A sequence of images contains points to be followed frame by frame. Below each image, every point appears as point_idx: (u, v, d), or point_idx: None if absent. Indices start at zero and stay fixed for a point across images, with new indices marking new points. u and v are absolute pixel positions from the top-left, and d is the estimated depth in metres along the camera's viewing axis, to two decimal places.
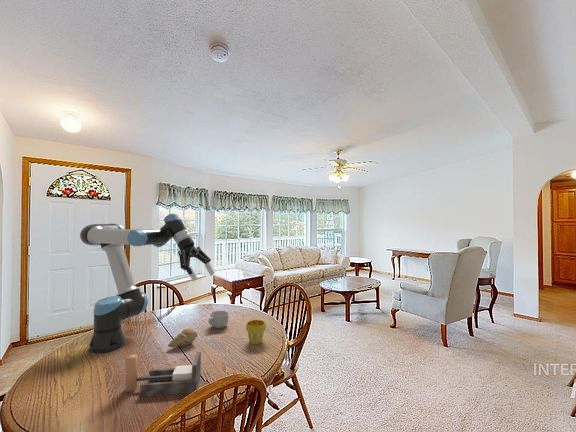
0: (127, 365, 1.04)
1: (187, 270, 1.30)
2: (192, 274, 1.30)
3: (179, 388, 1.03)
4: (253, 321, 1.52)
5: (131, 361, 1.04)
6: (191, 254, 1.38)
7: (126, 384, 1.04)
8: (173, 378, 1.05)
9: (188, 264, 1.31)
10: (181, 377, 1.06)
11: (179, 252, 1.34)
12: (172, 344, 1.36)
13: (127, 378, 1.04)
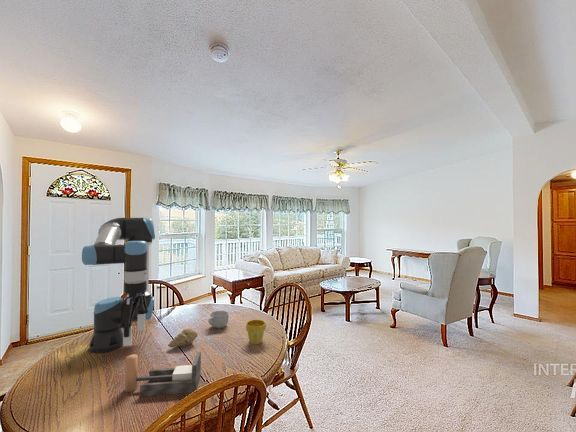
0: (127, 365, 1.04)
1: (125, 331, 0.98)
2: (128, 337, 0.99)
3: (179, 388, 1.03)
4: (253, 321, 1.52)
5: (131, 361, 1.04)
6: None
7: (126, 384, 1.04)
8: (173, 378, 1.05)
9: (130, 323, 1.00)
10: (181, 377, 1.06)
11: (127, 302, 1.00)
12: (172, 344, 1.36)
13: (127, 378, 1.04)
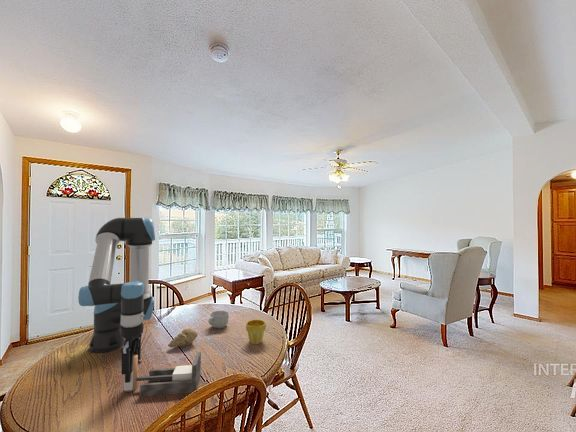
0: None
1: (126, 377, 1.02)
2: (129, 382, 1.03)
3: (179, 388, 1.03)
4: (253, 321, 1.52)
5: None
6: None
7: None
8: (173, 378, 1.05)
9: (131, 369, 1.03)
10: (181, 377, 1.05)
11: (123, 352, 0.99)
12: (172, 344, 1.36)
13: None
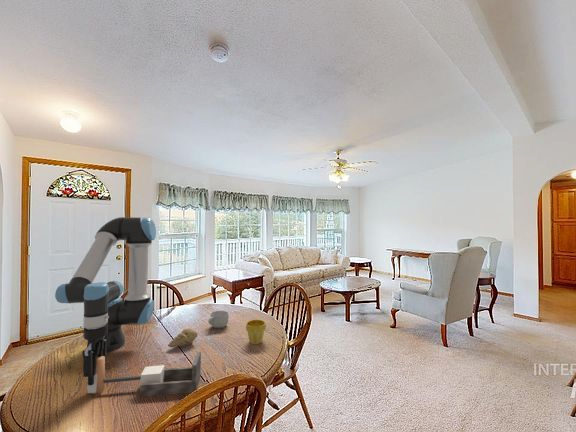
0: None
1: (89, 379, 1.00)
2: (92, 385, 1.01)
3: (179, 388, 1.03)
4: (253, 321, 1.52)
5: (97, 363, 1.03)
6: None
7: None
8: (141, 379, 1.04)
9: (94, 371, 1.01)
10: (150, 378, 1.05)
11: (85, 354, 0.98)
12: (172, 344, 1.36)
13: None
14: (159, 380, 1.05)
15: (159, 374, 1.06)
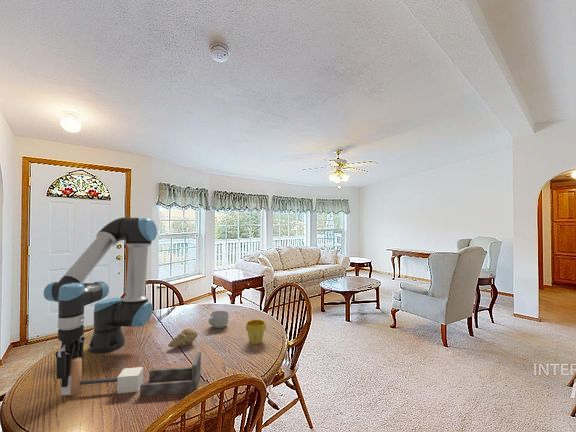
0: None
1: (63, 381, 0.99)
2: (66, 387, 1.00)
3: (179, 388, 1.03)
4: (253, 321, 1.52)
5: (74, 365, 1.01)
6: None
7: None
8: (118, 381, 1.03)
9: (68, 373, 1.00)
10: (127, 380, 1.03)
11: (58, 355, 0.96)
12: (172, 344, 1.36)
13: None
14: (136, 382, 1.04)
15: (136, 376, 1.04)
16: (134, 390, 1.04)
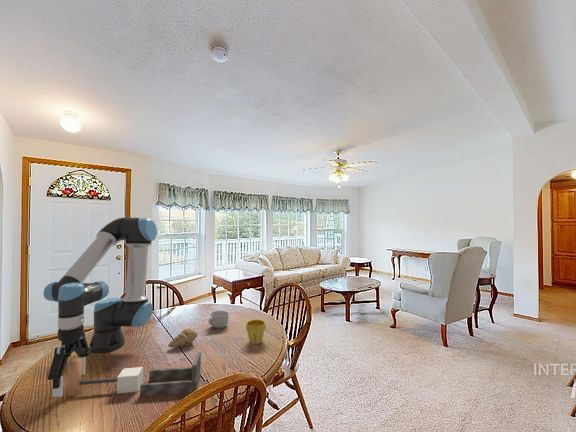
0: (69, 369, 1.01)
1: (54, 382, 0.94)
2: (58, 388, 0.96)
3: (179, 388, 1.03)
4: (253, 321, 1.52)
5: (73, 365, 1.01)
6: None
7: (68, 388, 1.01)
8: (118, 381, 1.03)
9: (61, 374, 0.96)
10: (127, 380, 1.03)
11: (57, 351, 0.96)
12: (172, 344, 1.36)
13: (69, 382, 1.01)
14: (136, 382, 1.04)
15: (136, 376, 1.04)
16: (134, 390, 1.04)
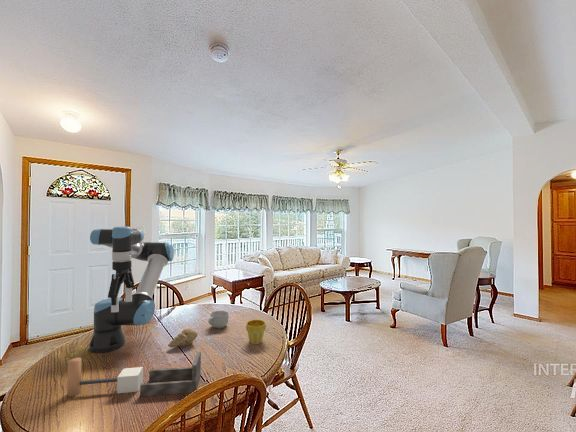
0: (69, 369, 1.01)
1: (112, 300, 1.20)
2: (115, 306, 1.21)
3: (179, 388, 1.03)
4: (253, 321, 1.52)
5: (73, 365, 1.01)
6: None
7: (68, 388, 1.01)
8: (118, 381, 1.03)
9: (117, 294, 1.21)
10: (127, 380, 1.03)
11: (113, 276, 1.21)
12: (172, 344, 1.36)
13: (69, 382, 1.01)
14: (136, 382, 1.04)
15: (136, 376, 1.04)
16: (134, 390, 1.04)
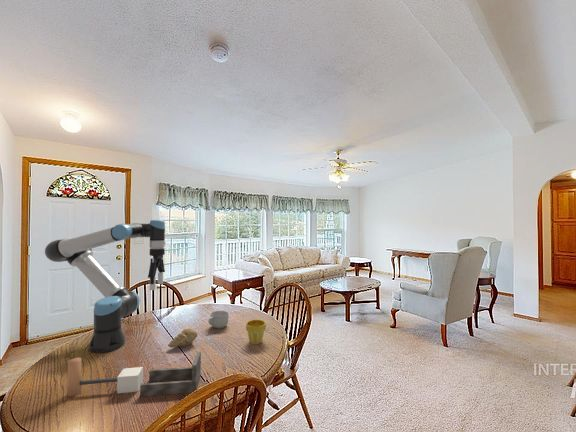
0: (69, 369, 1.01)
1: (151, 280, 1.45)
2: (153, 284, 1.46)
3: (179, 388, 1.03)
4: (253, 321, 1.52)
5: (73, 365, 1.01)
6: None
7: (68, 388, 1.01)
8: (118, 381, 1.03)
9: (154, 275, 1.47)
10: (127, 380, 1.03)
11: (152, 260, 1.47)
12: (172, 344, 1.36)
13: (69, 382, 1.01)
14: (136, 382, 1.04)
15: (136, 376, 1.04)
16: (134, 390, 1.04)
